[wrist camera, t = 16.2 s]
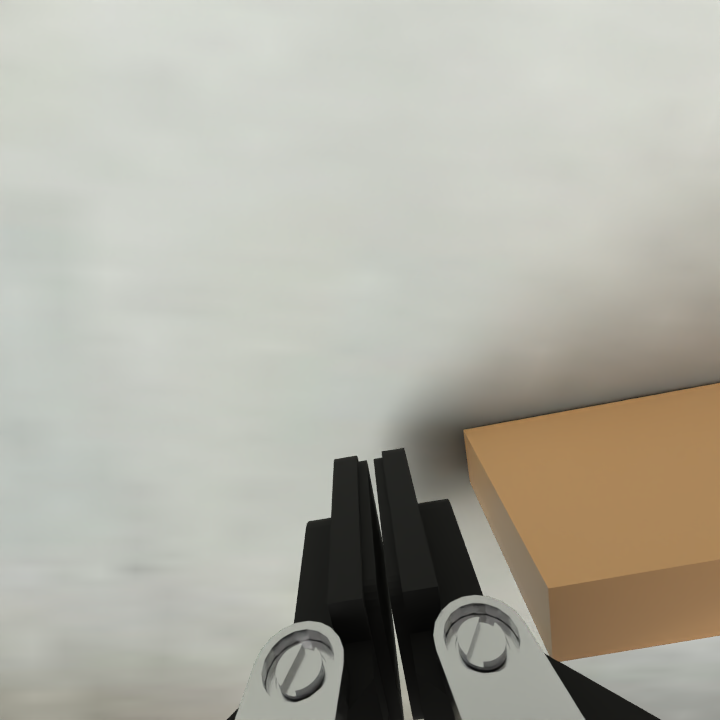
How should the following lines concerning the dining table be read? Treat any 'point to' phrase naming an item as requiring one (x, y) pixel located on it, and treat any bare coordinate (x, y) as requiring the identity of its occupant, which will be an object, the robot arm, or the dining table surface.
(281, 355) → the dining table surface
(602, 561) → the orange rectangular block
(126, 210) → the dining table surface
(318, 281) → the dining table surface
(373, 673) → the robot arm
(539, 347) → the dining table surface
